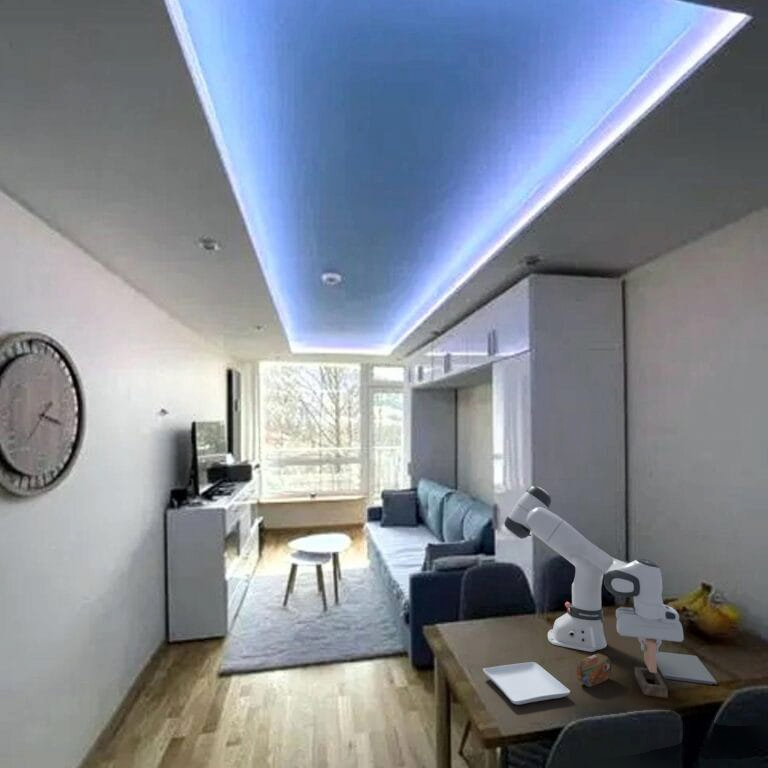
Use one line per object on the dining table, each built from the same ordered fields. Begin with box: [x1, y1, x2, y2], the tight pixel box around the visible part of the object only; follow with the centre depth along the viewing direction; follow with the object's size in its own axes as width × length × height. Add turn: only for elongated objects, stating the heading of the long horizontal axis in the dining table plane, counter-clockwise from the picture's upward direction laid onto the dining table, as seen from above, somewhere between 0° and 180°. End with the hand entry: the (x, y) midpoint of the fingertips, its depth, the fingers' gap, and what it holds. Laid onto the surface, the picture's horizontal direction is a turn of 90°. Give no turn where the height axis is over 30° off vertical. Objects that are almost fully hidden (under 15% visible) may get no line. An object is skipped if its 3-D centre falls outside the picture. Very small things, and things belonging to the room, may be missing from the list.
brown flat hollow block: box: [634, 666, 669, 699], centre depth 169 cm, size 7×13×3 cm, turn 165°
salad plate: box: [482, 661, 571, 706], centre depth 167 cm, size 21×21×3 cm
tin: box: [576, 653, 612, 688], centre depth 172 cm, size 15×3×8 cm, turn 119°
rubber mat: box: [656, 651, 718, 686], centre depth 181 cm, size 16×20×1 cm
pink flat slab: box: [642, 638, 658, 673], centre depth 169 cm, size 2×8×9 cm, turn 165°
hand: (649, 651), depth 170 cm, fingers closed on pink flat slab, 2 cm apart
